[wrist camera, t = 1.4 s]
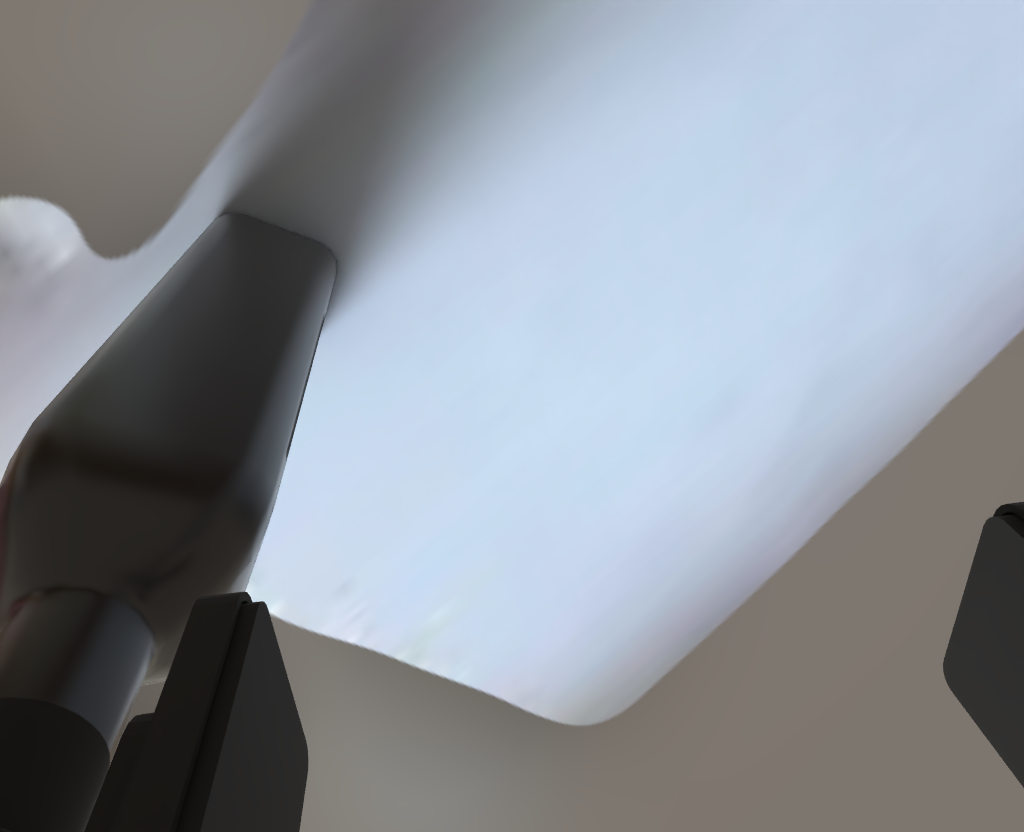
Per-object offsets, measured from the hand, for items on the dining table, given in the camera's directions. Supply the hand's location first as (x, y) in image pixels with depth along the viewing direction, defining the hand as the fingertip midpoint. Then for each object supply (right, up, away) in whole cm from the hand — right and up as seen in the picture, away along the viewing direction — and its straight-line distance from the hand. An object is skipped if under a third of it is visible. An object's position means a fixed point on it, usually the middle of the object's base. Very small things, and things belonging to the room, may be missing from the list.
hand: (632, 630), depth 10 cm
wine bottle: (-13, +9, +26) cm, 30 cm away
